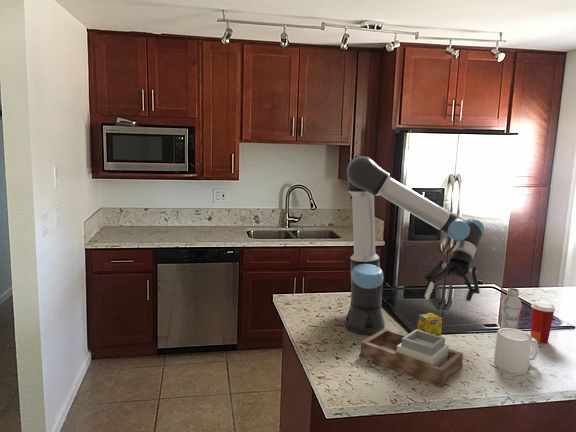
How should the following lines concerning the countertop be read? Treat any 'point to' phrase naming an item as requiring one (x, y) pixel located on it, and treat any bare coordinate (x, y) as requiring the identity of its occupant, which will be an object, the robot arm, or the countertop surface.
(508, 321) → the plastic bottle
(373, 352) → the tray
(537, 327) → the paper cup
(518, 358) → the mug
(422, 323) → the supplement box
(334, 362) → the countertop surface
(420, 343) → the stepped square pedestal
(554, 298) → the countertop surface
